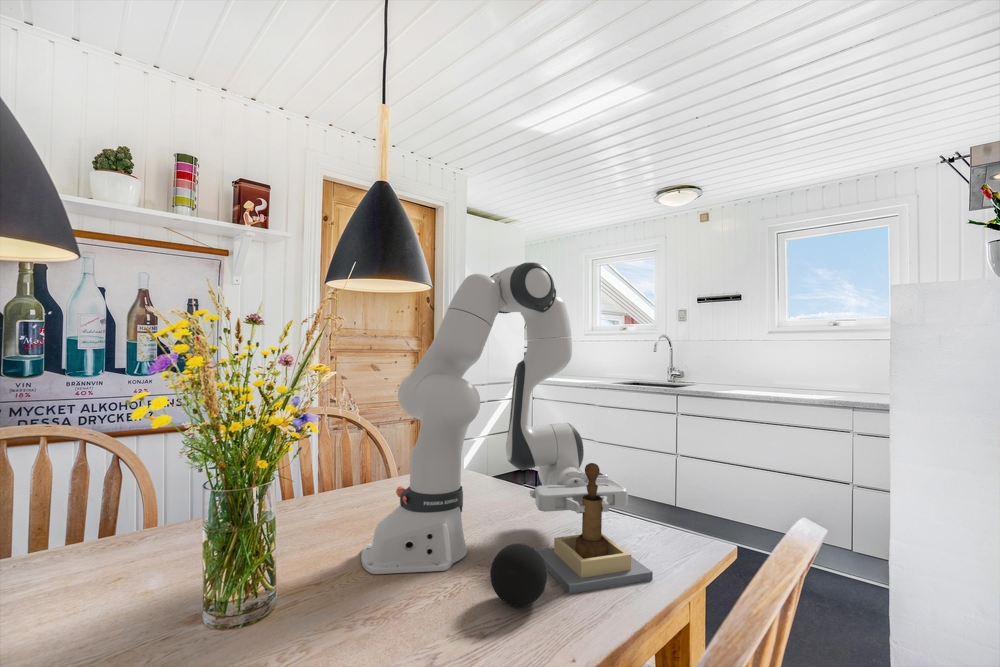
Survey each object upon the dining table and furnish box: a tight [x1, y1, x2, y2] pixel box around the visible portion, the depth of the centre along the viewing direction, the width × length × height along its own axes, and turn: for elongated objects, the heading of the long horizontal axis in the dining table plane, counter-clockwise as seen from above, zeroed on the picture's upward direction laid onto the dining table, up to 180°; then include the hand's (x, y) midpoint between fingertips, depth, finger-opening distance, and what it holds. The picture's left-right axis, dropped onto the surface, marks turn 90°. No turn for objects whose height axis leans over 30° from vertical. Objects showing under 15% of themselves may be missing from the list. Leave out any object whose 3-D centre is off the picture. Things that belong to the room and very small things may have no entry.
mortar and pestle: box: [576, 462, 608, 558], centre depth 101 cm, size 7×6×18 cm
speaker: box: [490, 543, 548, 608], centre depth 87 cm, size 10×10×10 cm
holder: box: [535, 532, 654, 595], centre depth 100 cm, size 18×16×4 cm
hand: (593, 508), depth 100 cm, fingers closed on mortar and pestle, 4 cm apart
